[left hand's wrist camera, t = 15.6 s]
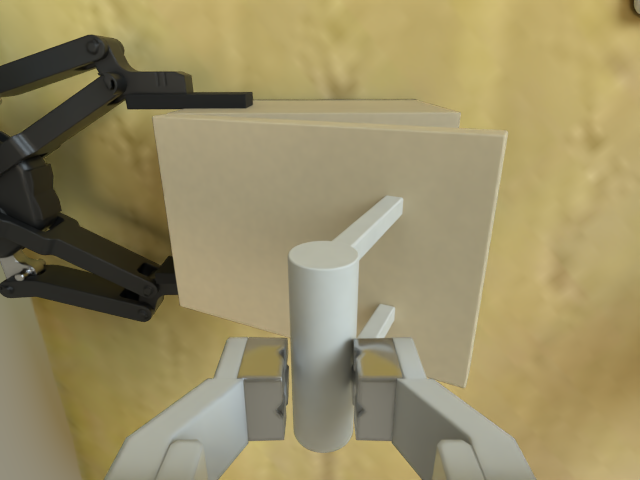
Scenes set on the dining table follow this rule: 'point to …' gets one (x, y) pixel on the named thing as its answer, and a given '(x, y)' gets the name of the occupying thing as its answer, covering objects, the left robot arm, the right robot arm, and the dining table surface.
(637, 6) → the smartphone
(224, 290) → the lid
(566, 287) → the dining table surface
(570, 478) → the dining table surface
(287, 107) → the chest
